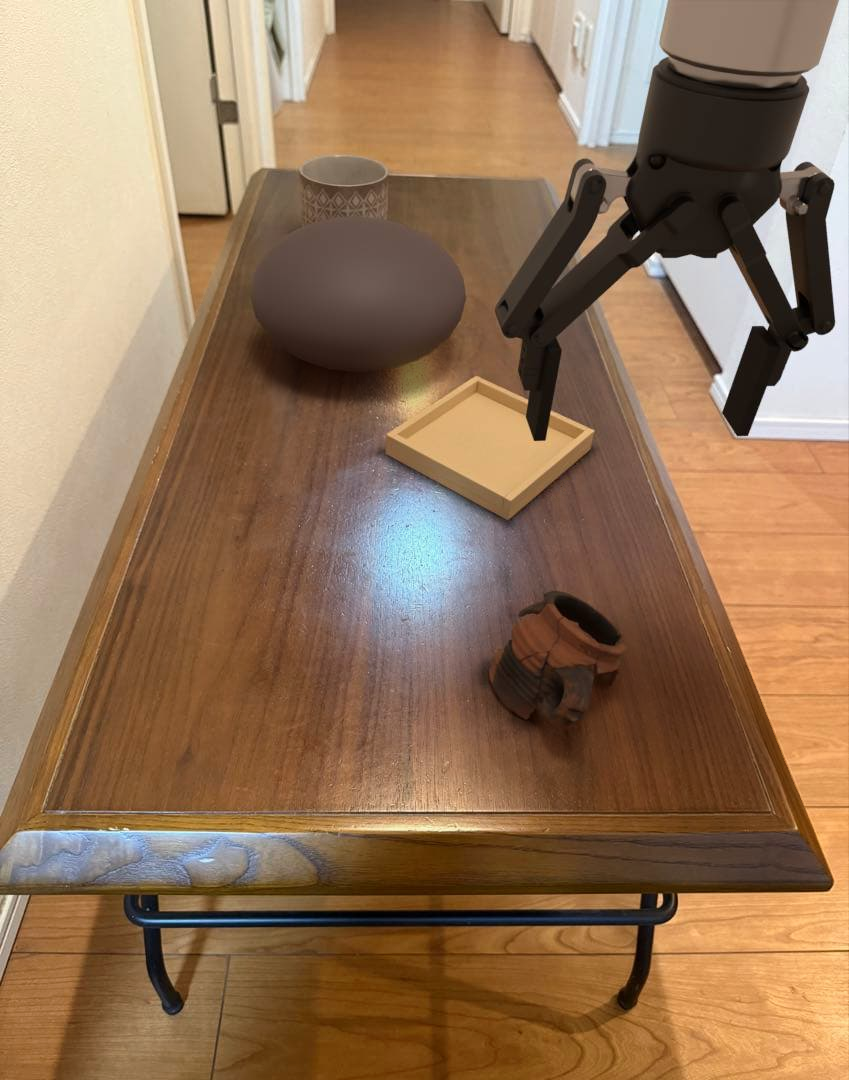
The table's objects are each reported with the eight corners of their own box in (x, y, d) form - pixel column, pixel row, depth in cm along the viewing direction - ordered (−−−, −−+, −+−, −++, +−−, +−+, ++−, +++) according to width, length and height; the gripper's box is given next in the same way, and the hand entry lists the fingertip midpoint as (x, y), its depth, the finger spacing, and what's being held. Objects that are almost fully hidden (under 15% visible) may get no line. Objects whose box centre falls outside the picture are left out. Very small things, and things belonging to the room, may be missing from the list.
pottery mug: (472, 645, 69) (523, 567, 66) (565, 683, 72) (619, 610, 69) (497, 745, 58) (561, 657, 55) (606, 784, 61) (672, 703, 58)
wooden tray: (590, 449, 89) (594, 430, 88) (507, 520, 80) (510, 500, 78) (474, 394, 96) (476, 375, 94) (385, 453, 87) (385, 434, 85)
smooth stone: (236, 316, 107) (223, 198, 97) (419, 292, 114) (424, 180, 104) (284, 422, 90) (273, 293, 80) (493, 386, 97) (508, 264, 87)
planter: (285, 235, 125) (281, 164, 118) (353, 217, 132) (353, 148, 125) (335, 266, 118) (333, 192, 111) (404, 245, 125) (406, 174, 118)
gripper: (928, 53, 45) (790, 392, 59) (468, 38, 42) (441, 398, 56) (1016, 93, 39) (840, 456, 53) (493, 79, 36) (456, 466, 51)
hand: (636, 427), depth 55 cm, fingers open, 13 cm apart
